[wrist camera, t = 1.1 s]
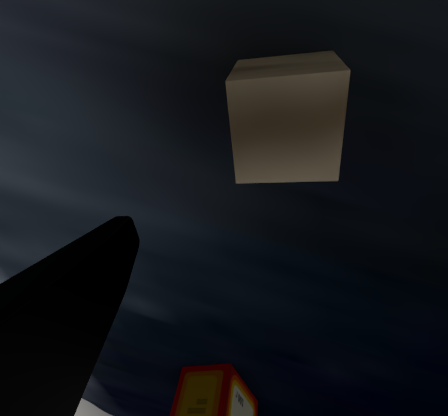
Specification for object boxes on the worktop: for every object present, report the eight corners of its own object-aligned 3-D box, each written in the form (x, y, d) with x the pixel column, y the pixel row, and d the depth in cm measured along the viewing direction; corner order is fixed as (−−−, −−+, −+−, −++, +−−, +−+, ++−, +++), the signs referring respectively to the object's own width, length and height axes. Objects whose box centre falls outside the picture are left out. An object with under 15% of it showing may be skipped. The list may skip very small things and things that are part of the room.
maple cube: (325, 140, 19) (338, 180, 15) (245, 144, 20) (236, 183, 16) (332, 50, 16) (350, 70, 12) (238, 59, 17) (225, 81, 13)
